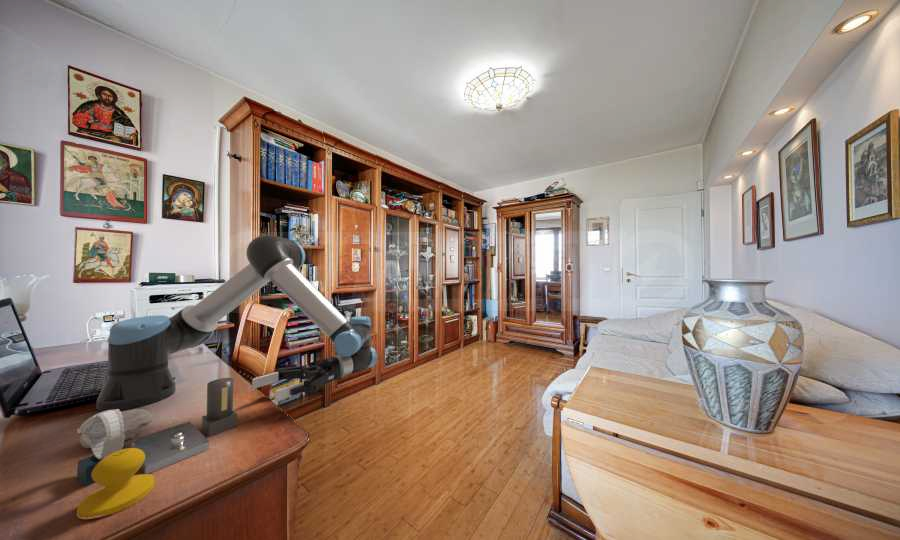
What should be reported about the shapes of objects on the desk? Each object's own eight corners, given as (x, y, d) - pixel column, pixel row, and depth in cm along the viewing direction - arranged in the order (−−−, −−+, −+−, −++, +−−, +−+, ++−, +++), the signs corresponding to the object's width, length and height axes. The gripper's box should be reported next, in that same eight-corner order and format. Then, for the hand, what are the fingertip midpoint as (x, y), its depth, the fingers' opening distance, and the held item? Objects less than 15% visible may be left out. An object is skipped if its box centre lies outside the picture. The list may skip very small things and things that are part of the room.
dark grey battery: (201, 429, 64) (203, 382, 64) (228, 419, 68) (230, 375, 68) (209, 437, 61) (210, 388, 61) (237, 426, 65) (238, 380, 65)
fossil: (162, 416, 64) (103, 419, 55) (145, 447, 62) (81, 456, 53) (143, 406, 67) (84, 408, 59) (126, 436, 65) (62, 442, 56)
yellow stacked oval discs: (123, 515, 41) (57, 524, 40) (167, 477, 49) (113, 483, 47) (125, 466, 41) (59, 473, 40) (168, 435, 49) (115, 440, 48)
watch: (119, 456, 54) (121, 401, 54) (136, 469, 51) (138, 410, 51) (72, 475, 49) (74, 414, 49) (88, 490, 46) (90, 425, 46)
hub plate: (131, 447, 57) (132, 429, 57) (189, 427, 65) (189, 411, 65) (145, 474, 49) (146, 454, 49) (209, 448, 57) (209, 431, 57)
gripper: (359, 387, 83) (286, 417, 65) (314, 371, 97) (244, 392, 79) (359, 363, 83) (287, 386, 66) (314, 350, 97) (244, 366, 79)
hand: (263, 389), depth 72 cm, fingers open, 13 cm apart
